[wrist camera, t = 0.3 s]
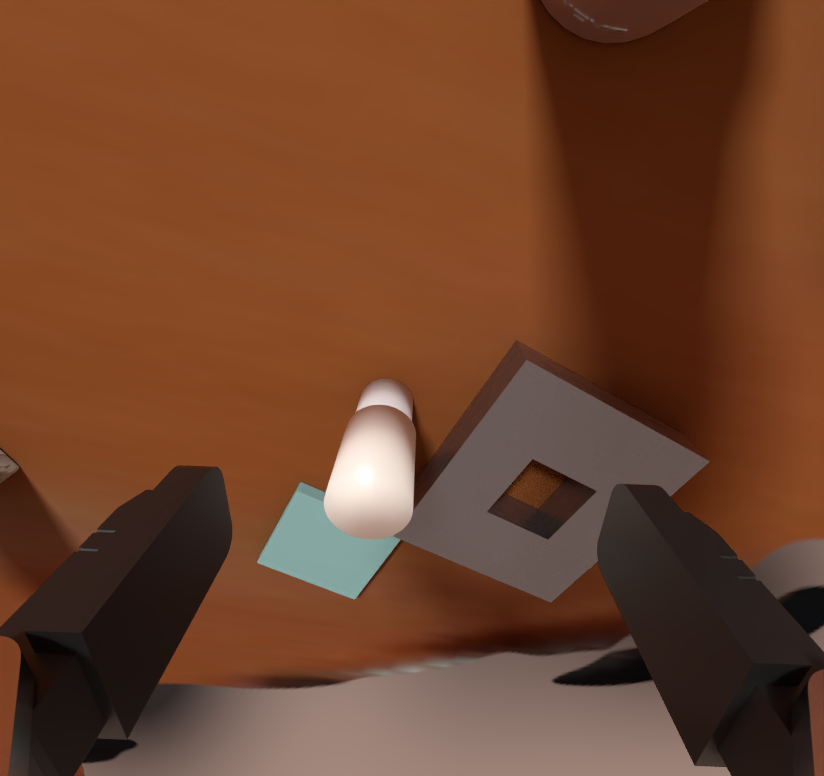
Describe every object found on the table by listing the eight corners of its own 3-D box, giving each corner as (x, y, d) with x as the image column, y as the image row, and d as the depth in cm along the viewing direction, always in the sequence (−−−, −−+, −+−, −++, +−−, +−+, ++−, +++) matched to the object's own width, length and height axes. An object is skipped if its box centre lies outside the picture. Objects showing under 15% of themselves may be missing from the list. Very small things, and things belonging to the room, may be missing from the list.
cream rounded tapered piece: (372, 363, 27) (346, 457, 18) (428, 392, 28) (429, 495, 19) (345, 411, 29) (309, 518, 20) (399, 437, 30) (387, 550, 21)
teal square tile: (300, 481, 32) (296, 490, 31) (404, 526, 34) (403, 535, 33) (261, 553, 36) (257, 562, 35) (356, 589, 38) (354, 599, 37)
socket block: (516, 340, 26) (526, 359, 23) (683, 434, 29) (709, 461, 26) (396, 506, 33) (393, 536, 30) (541, 570, 36) (550, 602, 33)
